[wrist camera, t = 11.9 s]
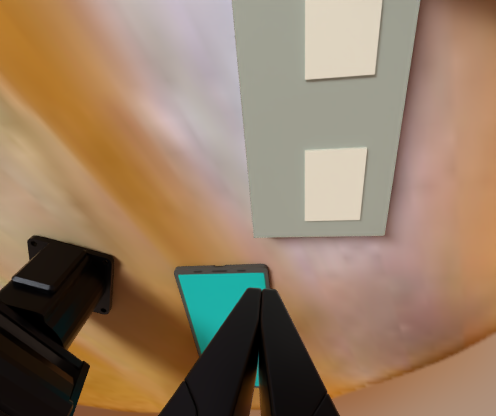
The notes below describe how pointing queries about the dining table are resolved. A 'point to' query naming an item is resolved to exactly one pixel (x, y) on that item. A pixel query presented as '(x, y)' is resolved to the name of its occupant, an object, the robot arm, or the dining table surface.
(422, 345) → the dining table surface
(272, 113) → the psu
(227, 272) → the smartphone
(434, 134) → the dining table surface
